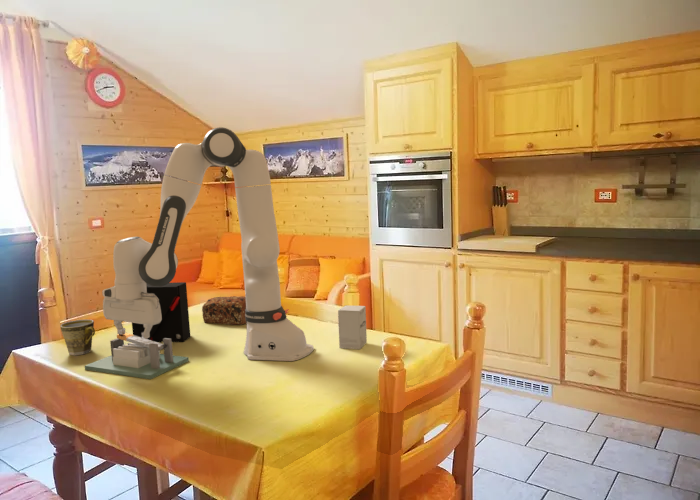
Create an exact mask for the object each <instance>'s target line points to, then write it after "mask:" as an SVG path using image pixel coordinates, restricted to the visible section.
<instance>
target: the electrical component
mask: <svg viewBox="0 0 700 500" xmlns="http://www.w3.org/2000/svg"><path fill="white" fill-rule="evenodd" d="M146 285H147V293H153V294H155V295H156V296H157V297H158V299H159V304H160V308H161V315H162V320H161V322H160V323H158V324H155V325H152V328H151V330H150V337H149V338H147V339H148V340H151V341H155V342H158V343H163V339H164V338H170V339H171V340H172V343H185V342H186V341H187V340H188V339H190V338H191V329H190V317H189V316H190V314H189V313H190V312H189V302H188V290H187V289H188V287H187V282H185V281H184V282H183V281H182V282H178V281H177V282H169V283H168V284H166V285H164V286H151V285H149V284H147V283H146ZM131 328H132V335H135V336H138V337H142V332H144V330H145V328H144V324H139V323H131ZM145 339H146V338H145Z"/></svg>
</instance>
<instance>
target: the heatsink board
mask: <svg viewBox="0 0 700 500" xmlns="http://www.w3.org/2000/svg"><path fill="white" fill-rule="evenodd" d="M124 341H125V340H122V339H118V338H117V337H116V338H114V339H112V340H109V343H110V350H111V351H110V352H111V355H109V356H107V357H104V358H101V359H98V360H96V361H93V362H91V363H87V364H86V365H84V370H85V371H93V372H99V373H106V374H111V373H112V374H111V375H118V374H119V376H126V377H132V378H139V379H145V380H152V379H155V378H156V377H159V376H160V375H162V374H164V373H167V372H169V371H171V370H173V369H175V368H177V367H180V366H181V365H184V364H185V363H188V362H190V359H189V356H180V355H175V354H174V353H173V342H172V340H171V339H170V338H164V339H163V342H162V344H166V345H167V347H166V348H164V349H163V353H161V350H159V351H158V344H153V343H151V344H149V348H147V347H144V346H140V345H137V344H134V343H131V342H128V343H127V344H125V342H124Z"/></svg>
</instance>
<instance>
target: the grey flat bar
mask: <svg viewBox="0 0 700 500" xmlns="http://www.w3.org/2000/svg"><path fill="white" fill-rule="evenodd" d="M117 338H118V339H122V340H124V341H125V342H128V343H134V344H137V345H140V346H144V347H147V348H149V344H151V343H153V344H158V351H161V350H164V348H166V347H167V345H166V344H163V343H162V342H155V341H151V340H148V339H145V338H142V337H138V336H135V335H133V333H132V334H131V333H128V332H125V334H123V335H119V334H116V339H117Z"/></svg>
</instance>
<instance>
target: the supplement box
mask: <svg viewBox="0 0 700 500" xmlns="http://www.w3.org/2000/svg"><path fill="white" fill-rule="evenodd" d="M337 317H338V319H337V320H338V321H337V322H338V344H339V349H346V350H347V349H349V350H361V349H362V348H363V347H364V346H365V344H367V343H368V341H367V340H368V339H367V312H366V306H365V305H344V306H343V307H341V308H339V309H338V311H337Z"/></svg>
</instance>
